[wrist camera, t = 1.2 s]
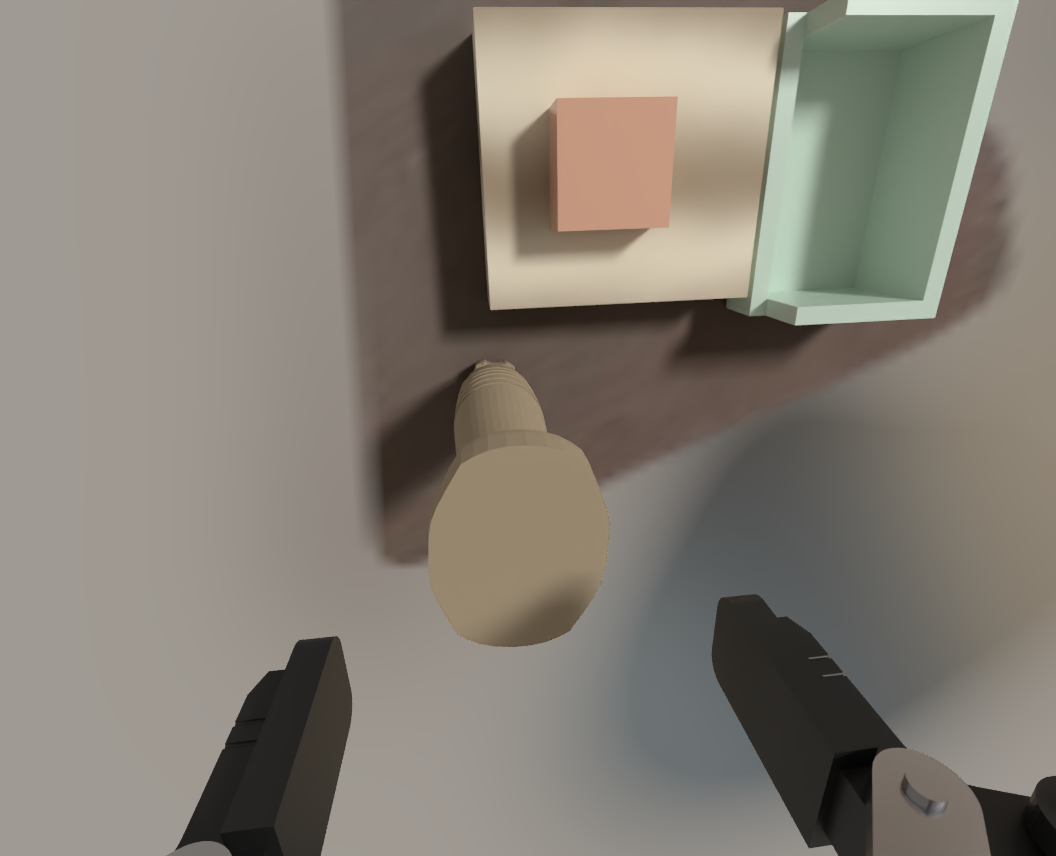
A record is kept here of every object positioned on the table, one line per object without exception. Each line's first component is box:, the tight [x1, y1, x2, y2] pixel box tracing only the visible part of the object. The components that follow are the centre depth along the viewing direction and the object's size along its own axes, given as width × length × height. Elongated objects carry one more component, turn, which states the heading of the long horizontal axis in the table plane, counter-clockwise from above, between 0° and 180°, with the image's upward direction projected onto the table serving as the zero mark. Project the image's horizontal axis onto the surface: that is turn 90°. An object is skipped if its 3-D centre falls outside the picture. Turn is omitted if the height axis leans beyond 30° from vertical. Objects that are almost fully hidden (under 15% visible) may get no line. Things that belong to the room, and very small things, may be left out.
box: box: [726, 0, 1019, 326], centre depth 23 cm, size 12×8×5 cm, turn 2°
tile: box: [549, 96, 678, 232], centre depth 21 cm, size 4×4×2 cm
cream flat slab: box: [472, 7, 784, 310], centre depth 23 cm, size 11×12×3 cm
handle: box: [429, 359, 610, 647], centre depth 21 cm, size 5×6×15 cm
